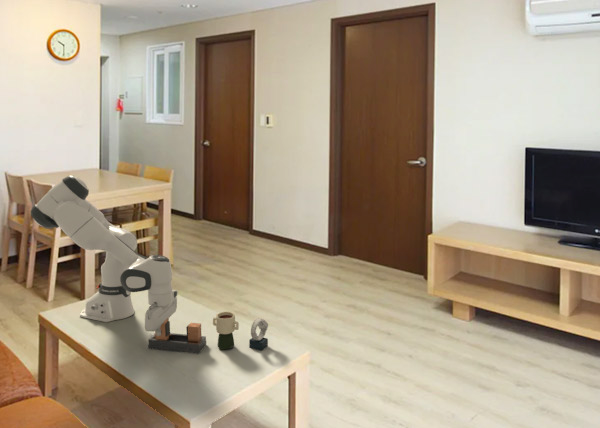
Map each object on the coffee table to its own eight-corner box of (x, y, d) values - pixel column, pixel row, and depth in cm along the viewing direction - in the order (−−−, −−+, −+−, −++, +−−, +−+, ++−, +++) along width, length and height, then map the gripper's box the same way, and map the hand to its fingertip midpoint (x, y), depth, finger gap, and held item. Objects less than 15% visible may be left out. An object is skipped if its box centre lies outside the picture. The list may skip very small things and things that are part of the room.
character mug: (243, 345, 195) (242, 314, 192) (233, 353, 189) (233, 321, 186) (218, 340, 199) (217, 309, 196) (208, 348, 192) (207, 316, 190)
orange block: (155, 340, 193) (154, 320, 191) (159, 336, 196) (158, 317, 194) (166, 341, 192) (166, 321, 190) (170, 338, 195) (169, 318, 193)
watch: (270, 344, 197) (270, 317, 195) (259, 352, 190) (259, 325, 188) (258, 340, 199) (258, 314, 197) (246, 349, 192) (246, 322, 190)
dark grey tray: (148, 348, 191) (147, 325, 189) (157, 339, 199) (156, 316, 197) (198, 354, 188) (198, 330, 186) (206, 344, 196) (205, 321, 194)
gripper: (156, 309, 180) (157, 345, 183) (179, 289, 200) (180, 322, 202) (139, 307, 181) (141, 343, 184) (164, 288, 201) (165, 320, 204)
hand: (161, 332), depth 193 cm, fingers closed on orange block, 3 cm apart
